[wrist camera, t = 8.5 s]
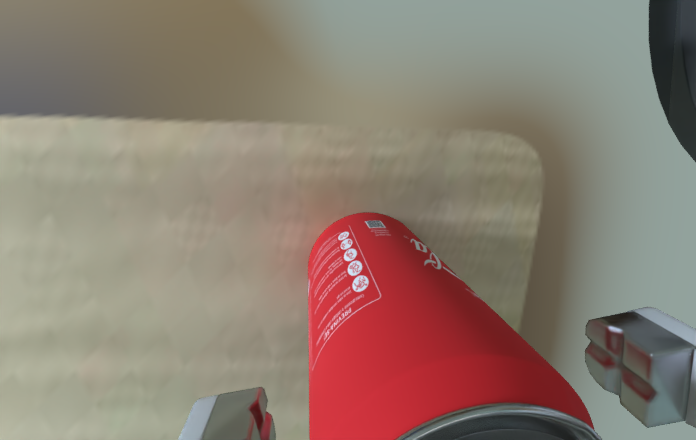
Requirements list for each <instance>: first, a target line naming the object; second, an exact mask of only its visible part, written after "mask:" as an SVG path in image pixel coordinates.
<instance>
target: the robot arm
mask: <svg viewBox="0 0 696 440" xmlns="http://www.w3.org/2000/svg"><path fill="white" fill-rule="evenodd" d="M585 335H586V336H587V337H588V338H589V339H590V340H591V342H590V344H589V345H588V347H587V348H586V350H585V362H586V364H587V367H588V369H589V372H590V374H591V375H592V377H593V378H594V379H595V381H596V382H597V383H598V384H599V385H600V386H601V387H602V388H603V389H605V390H607V391H609V392H612V393H614V394H616V395H619V398H620V403H621V405H622V406H624V407H625V408H626V409H627V410H628V411H629V412H630V413H631V414H632V415H633V416H635V417H636V418H637V419H638V420H639V421H641V422H642V424H644V425H645V426H646V427H647V428H649V427H654V426H659V425H665V424H670V423H676V422H680V421H686V423H687V424H689V425H691V426H693V427H695V428H696V329H695V328H693V327H691V326H689V325H687V324H685V323H683V322H681V321H679V320H678V319H675V318H674V317H672V316H670V315H668V314H666V313H664V312H662V311H660V310H658V309H656V308H652V307H644V308H640V309H635V310H631V311H628V312H626V313H620V314H615V315H611V316H606V317H601V318H596V319H592V320H589V321H588V323H587V325H586V334H585ZM267 402H268V400H267V396H266V393H265V390H264V389H263V388H262V387H257V388H252V389H246V390H241V391H235V392H230V393H224V394H220V395H215V396H209V397H204V398H199V399H198V400H197V401H196V402H195V403H194V405H193V407H192V410H191V412H190V414H189V417H188V419H187V421H186V423H185V426H184V428H183V430H182V432H181V435H180V437H179V439H178V440H276V433H275V426H274V421H273V418H272V415H271V414H269V413H268V412H266V408H267Z"/></svg>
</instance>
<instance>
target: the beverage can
mask: <svg viewBox="0 0 696 440" xmlns="http://www.w3.org/2000/svg"><path fill="white" fill-rule="evenodd" d="M308 311H309V423H310V440H602V439H601V437H600V436H599V435H598V434H597V433H596V432H595V430H594V427H593V423H592V421H591V418H590V415H589V413H588V411H587V409H586V407H585V405H584V403H583V402H582V400H581V399H580V397H579V396H578V394H577V393H576V392H575V391H574V389H573V388H572V387H571V386H570V385H569V383H568V382H567V381H566V380H565V379H564V378H563V377H562V376H561V375H560V374H559V373H558V372H557V371H556V370H555V369H554V368H553V367H552V366H551V365H550V364H549V363H548V362H547V361H546V360H544V358H543V357H541V356H540V355H539V354H538V353H537V352H536V351H535V350H534V349H533V348H532V347H531V346H530V345H529V344H528V343H527V342H526V341H525V340H524V339H523V338H522V337H521V336H520V335H519V334H518V333H516V332H515V331H514V330H513V329H512V328H511V327H510V326H509V325H508V324H507V323H506V322H505V321H504V320H503V319H502V318H501V317H500V316H499V315H498V314H497V313H496V312H495V311H493V310H492V309H491V308H490V307H489V306H488V305H487V304H486V303H485V302H484V301H483V300H482V299H481V298H480V297H479V296H478V295H477V294H476V293H475V292H474V291H473V290H472V289H471V288H469V287H468V286H467V285H466V284H465V283H464V282H463V281H462V280H461V279H460V278H459V277H458V276H457V275H456V274H455V273H454V272H453V271H452V270H451V269H450V268H449V267H448V266H447V265H445V264H444V263H443V262H442V261H441V260H440V259H439V258H438V257H437V256H436V255H435V254H434V253H433V252H432V251H431V250H430V249H429V248H428V247H427V246H426V245H425V244H424V243H422V242H421V241H420V240H419V239H418V238H417V237H416V236H415V235H414V234H413V233H412V232H411V231H410V230H409V229H408V228H407V227H406V226H405V225H404V224H403V223H401V222H399V221H398V220H396V219H394V218H391V217H389V216H386V215H383V214H378V213H357V214H353V215H349V216H346V217H344V218H342V219H340V220H338V221H336V222H335V223H333V224H332V225H330V226H329V227H328V228H327V229H326V230H325V231H324V232H323V233H322V234H321V235H320V237H319V238H318V239H317V241H316V243H315V244H314V246H313V249H312V251H311V254H310V258H309V264H308Z"/></svg>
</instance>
